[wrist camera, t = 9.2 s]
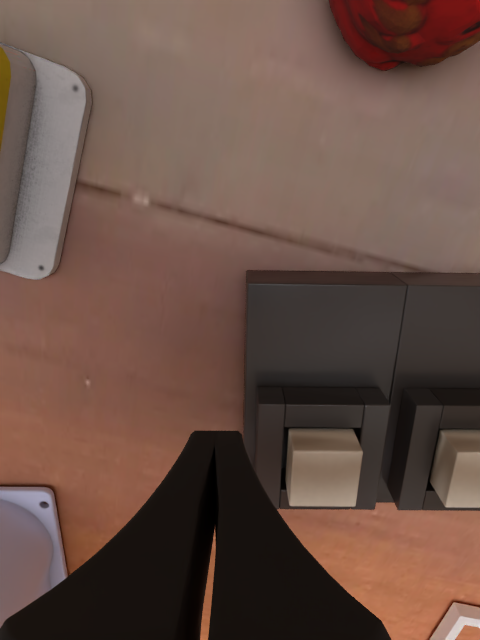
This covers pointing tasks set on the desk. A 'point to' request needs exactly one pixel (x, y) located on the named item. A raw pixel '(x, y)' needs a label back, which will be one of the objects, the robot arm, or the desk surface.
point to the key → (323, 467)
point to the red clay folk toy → (407, 29)
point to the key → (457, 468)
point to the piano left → (319, 367)
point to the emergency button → (38, 158)
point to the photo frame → (457, 621)
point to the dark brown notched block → (431, 383)
